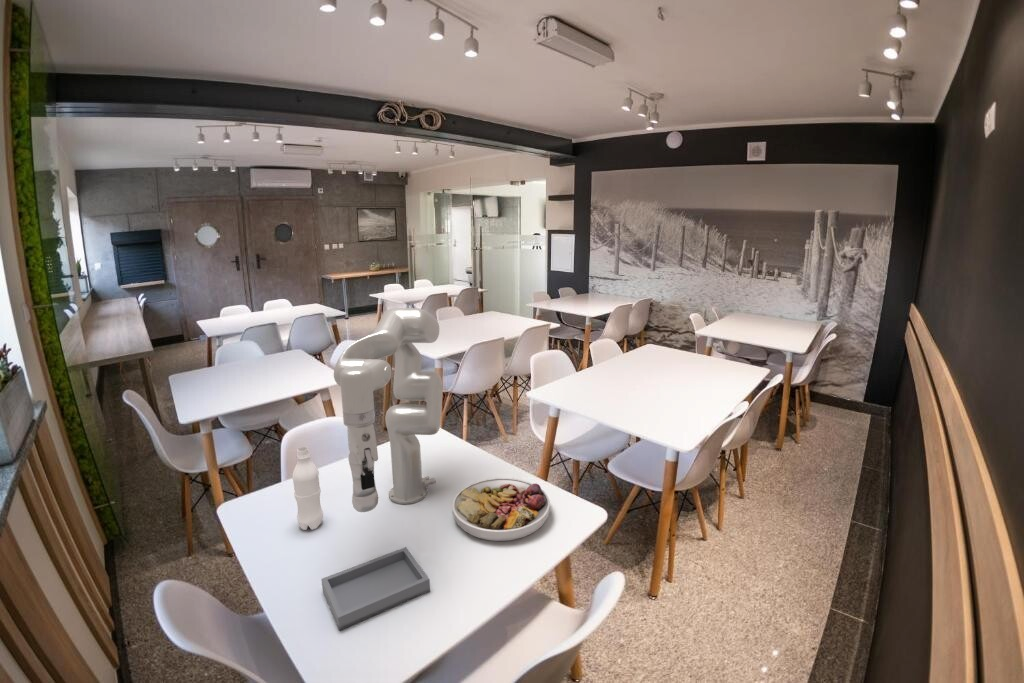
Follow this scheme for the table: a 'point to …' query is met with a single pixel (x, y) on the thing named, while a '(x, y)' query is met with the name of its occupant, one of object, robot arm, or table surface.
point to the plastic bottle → (361, 498)
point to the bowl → (501, 509)
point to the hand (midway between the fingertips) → (364, 481)
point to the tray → (374, 587)
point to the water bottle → (307, 491)
